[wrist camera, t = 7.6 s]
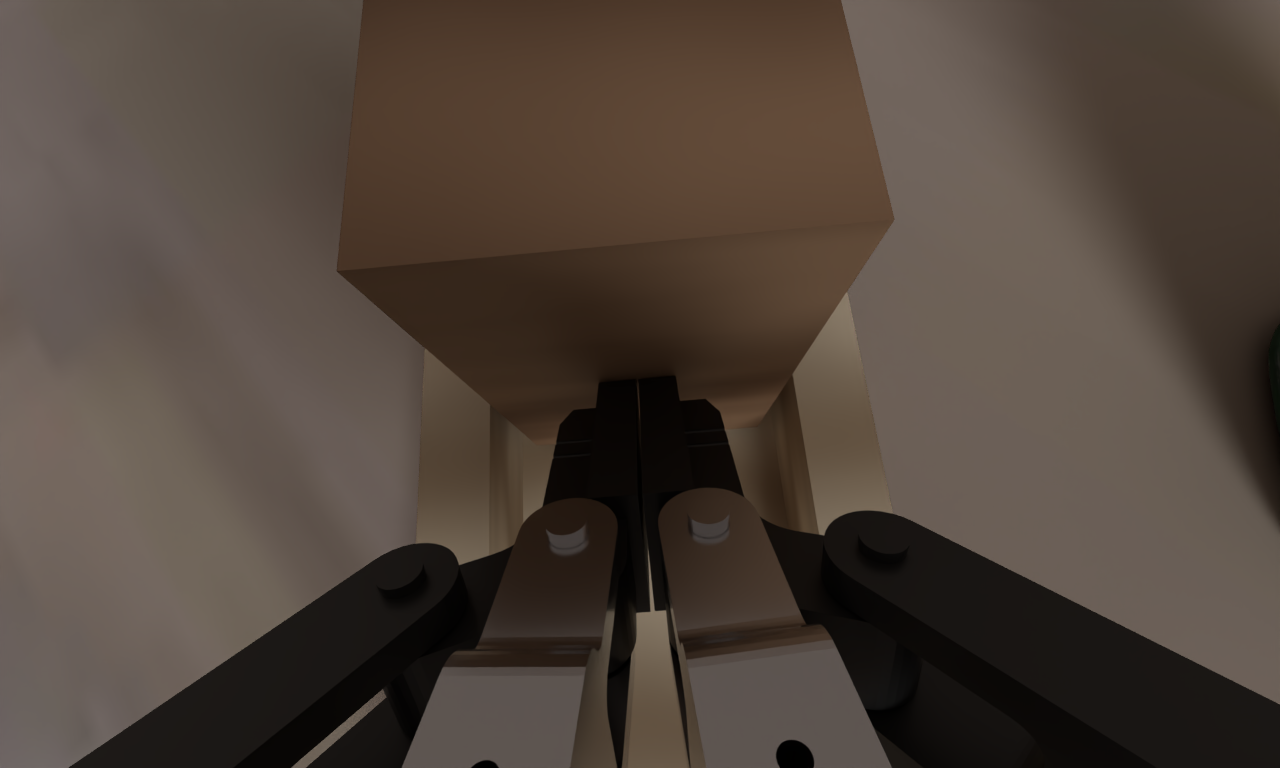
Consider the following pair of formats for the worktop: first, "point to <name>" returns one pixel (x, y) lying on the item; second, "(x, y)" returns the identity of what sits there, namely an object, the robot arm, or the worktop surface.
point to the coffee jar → (1275, 373)
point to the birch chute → (770, 479)
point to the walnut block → (610, 193)
